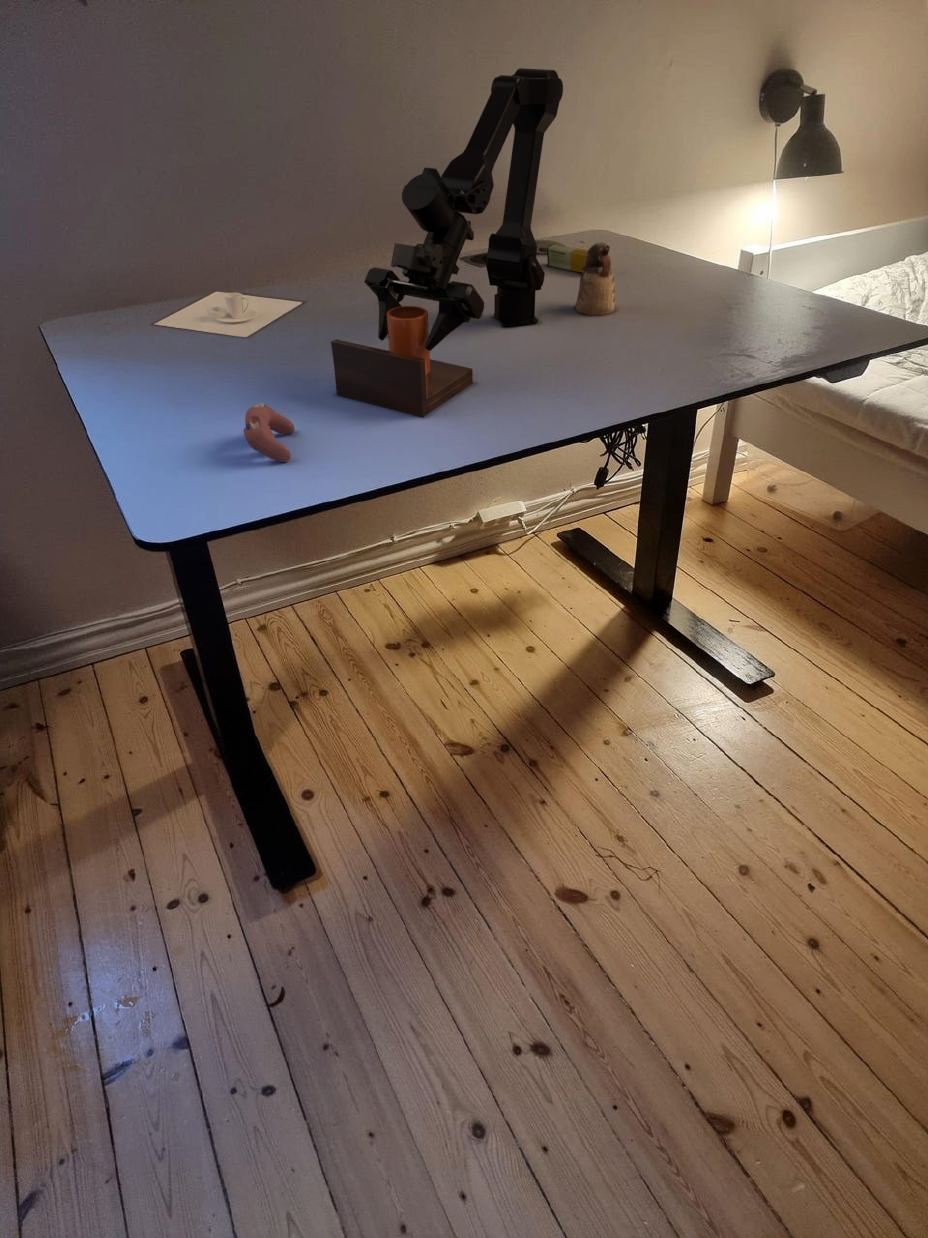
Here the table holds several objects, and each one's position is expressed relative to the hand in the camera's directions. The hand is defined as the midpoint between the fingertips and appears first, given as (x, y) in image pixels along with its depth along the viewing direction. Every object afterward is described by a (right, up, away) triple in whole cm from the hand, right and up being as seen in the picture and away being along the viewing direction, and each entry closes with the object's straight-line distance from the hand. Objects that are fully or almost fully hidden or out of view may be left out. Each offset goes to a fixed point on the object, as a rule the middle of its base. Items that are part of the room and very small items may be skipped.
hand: (403, 344), depth 134 cm
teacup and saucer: (-35, +16, +34) cm, 51 cm away
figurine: (+34, +16, +32) cm, 49 cm away
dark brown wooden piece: (0, -6, +4) cm, 7 cm away
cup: (+1, -3, +4) cm, 5 cm away
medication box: (+32, +31, +52) cm, 68 cm away
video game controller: (-17, -18, -11) cm, 27 cm away
